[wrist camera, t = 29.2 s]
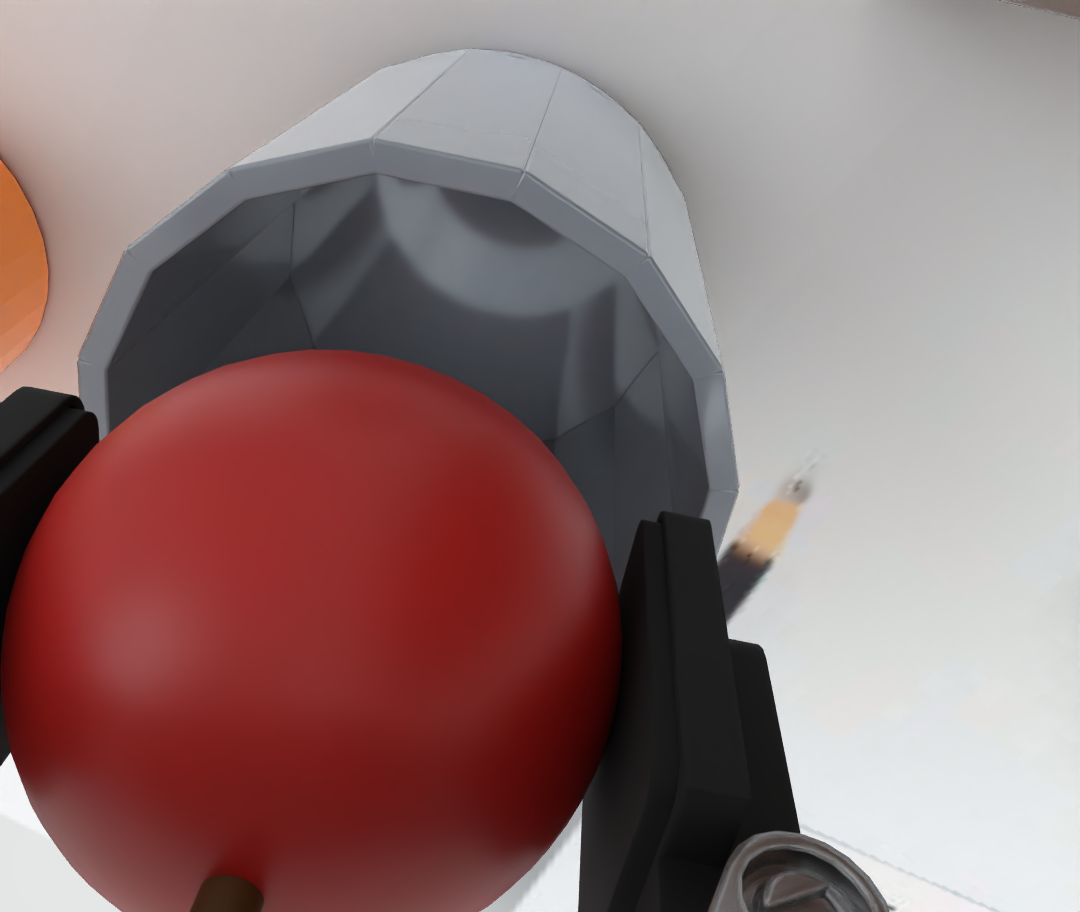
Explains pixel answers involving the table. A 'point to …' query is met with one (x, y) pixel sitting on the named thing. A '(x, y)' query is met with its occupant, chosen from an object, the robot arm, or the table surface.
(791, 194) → the table surface
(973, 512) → the table surface
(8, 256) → the shaker bottle
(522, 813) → the apple
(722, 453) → the steel cup
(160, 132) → the table surface
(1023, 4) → the crate
